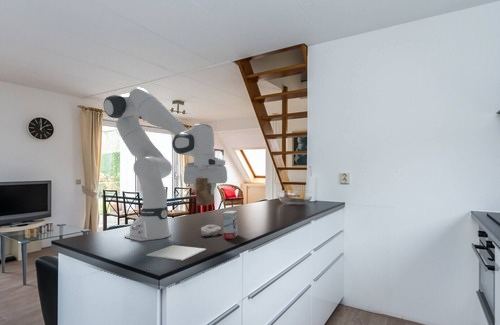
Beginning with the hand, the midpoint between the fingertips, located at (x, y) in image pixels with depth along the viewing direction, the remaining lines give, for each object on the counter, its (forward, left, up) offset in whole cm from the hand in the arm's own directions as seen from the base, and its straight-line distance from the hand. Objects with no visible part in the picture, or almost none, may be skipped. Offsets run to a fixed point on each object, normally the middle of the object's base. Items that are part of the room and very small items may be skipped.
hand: (205, 194), depth 115 cm
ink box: (+3, +15, -21) cm, 26 cm away
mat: (-4, -14, -21) cm, 25 cm away
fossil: (-9, +16, -21) cm, 28 cm away
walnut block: (0, 0, -4) cm, 4 cm away
